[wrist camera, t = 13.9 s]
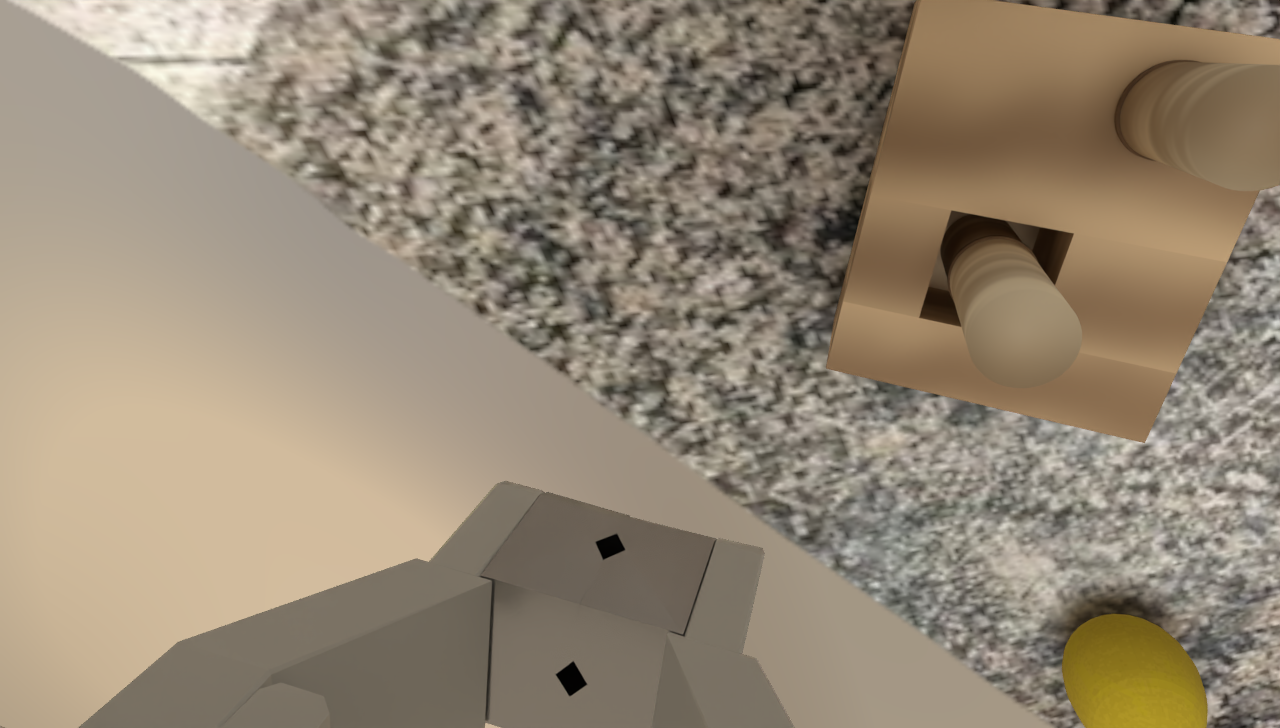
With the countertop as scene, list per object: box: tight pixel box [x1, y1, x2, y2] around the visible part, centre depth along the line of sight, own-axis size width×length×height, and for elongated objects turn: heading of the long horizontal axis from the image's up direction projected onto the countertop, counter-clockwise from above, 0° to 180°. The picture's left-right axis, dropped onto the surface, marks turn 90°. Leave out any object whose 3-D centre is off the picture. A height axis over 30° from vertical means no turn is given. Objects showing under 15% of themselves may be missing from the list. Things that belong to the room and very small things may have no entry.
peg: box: [940, 214, 1082, 388], centre depth 28 cm, size 3×3×12 cm
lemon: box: [1062, 614, 1207, 728], centre depth 37 cm, size 6×6×8 cm
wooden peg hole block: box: [826, 0, 1280, 443], centre depth 28 cm, size 14×12×14 cm
